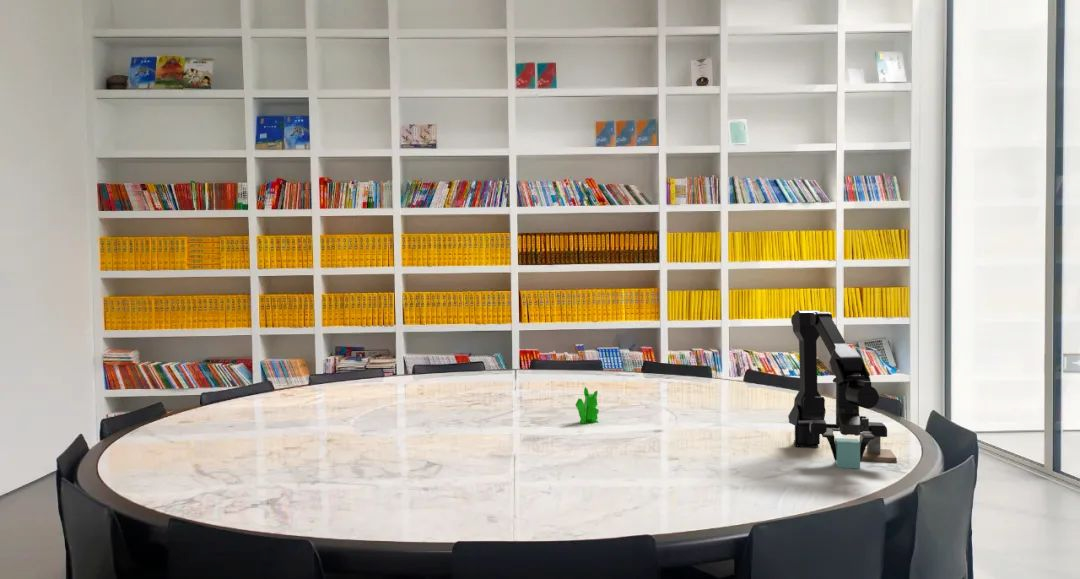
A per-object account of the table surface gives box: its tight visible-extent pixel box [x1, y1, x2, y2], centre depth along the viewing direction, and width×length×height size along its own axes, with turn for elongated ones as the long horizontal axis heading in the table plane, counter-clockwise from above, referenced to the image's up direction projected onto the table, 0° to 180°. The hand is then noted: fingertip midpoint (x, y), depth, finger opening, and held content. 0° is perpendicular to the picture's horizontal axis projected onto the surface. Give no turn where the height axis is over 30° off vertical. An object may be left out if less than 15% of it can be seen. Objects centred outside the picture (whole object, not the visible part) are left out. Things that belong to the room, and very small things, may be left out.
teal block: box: [834, 437, 861, 469], centre depth 205 cm, size 6×6×6 cm
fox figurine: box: [575, 386, 600, 425], centre depth 264 cm, size 6×10×12 cm, turn 134°
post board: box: [860, 437, 898, 463], centre depth 213 cm, size 10×10×6 cm
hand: (847, 460), depth 205 cm, fingers closed on teal block, 6 cm apart
